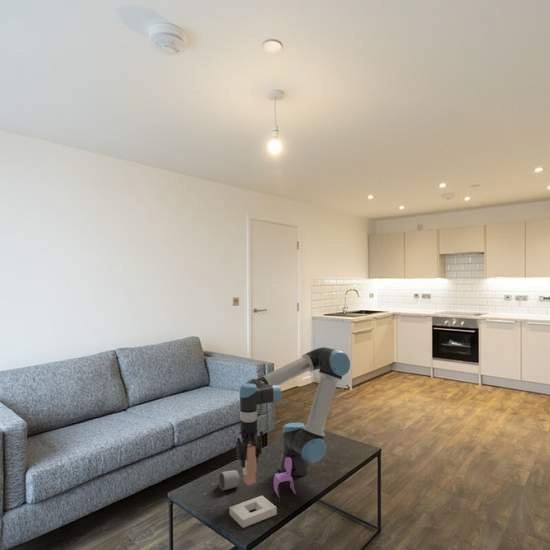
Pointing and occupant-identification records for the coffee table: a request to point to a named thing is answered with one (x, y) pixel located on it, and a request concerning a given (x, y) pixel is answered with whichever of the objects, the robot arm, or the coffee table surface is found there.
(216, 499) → the coffee table surface
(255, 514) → the socket block
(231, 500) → the coffee table surface
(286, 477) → the toy chair
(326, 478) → the coffee table surface
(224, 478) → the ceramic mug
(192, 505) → the coffee table surface
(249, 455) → the peg
